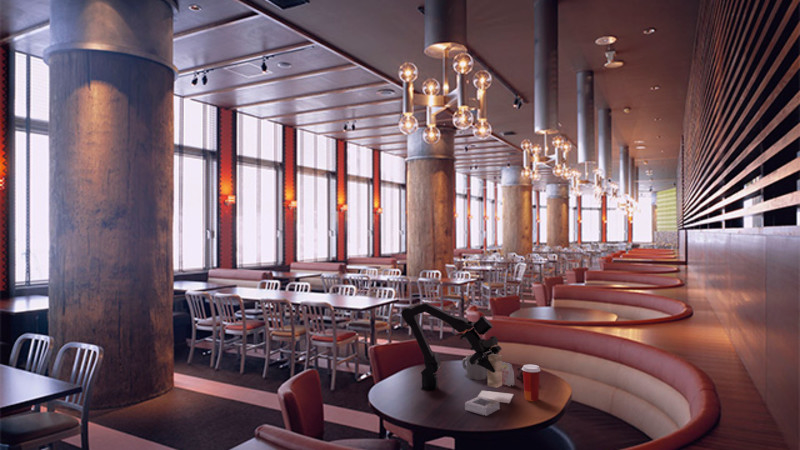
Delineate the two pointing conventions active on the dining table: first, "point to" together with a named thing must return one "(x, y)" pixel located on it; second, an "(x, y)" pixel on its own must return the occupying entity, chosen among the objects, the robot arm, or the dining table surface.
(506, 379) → the white printed carton
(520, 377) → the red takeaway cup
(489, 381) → the wooden peg
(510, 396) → the tile
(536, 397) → the paper cup
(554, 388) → the dining table surface
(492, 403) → the socket
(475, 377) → the coffee mug
